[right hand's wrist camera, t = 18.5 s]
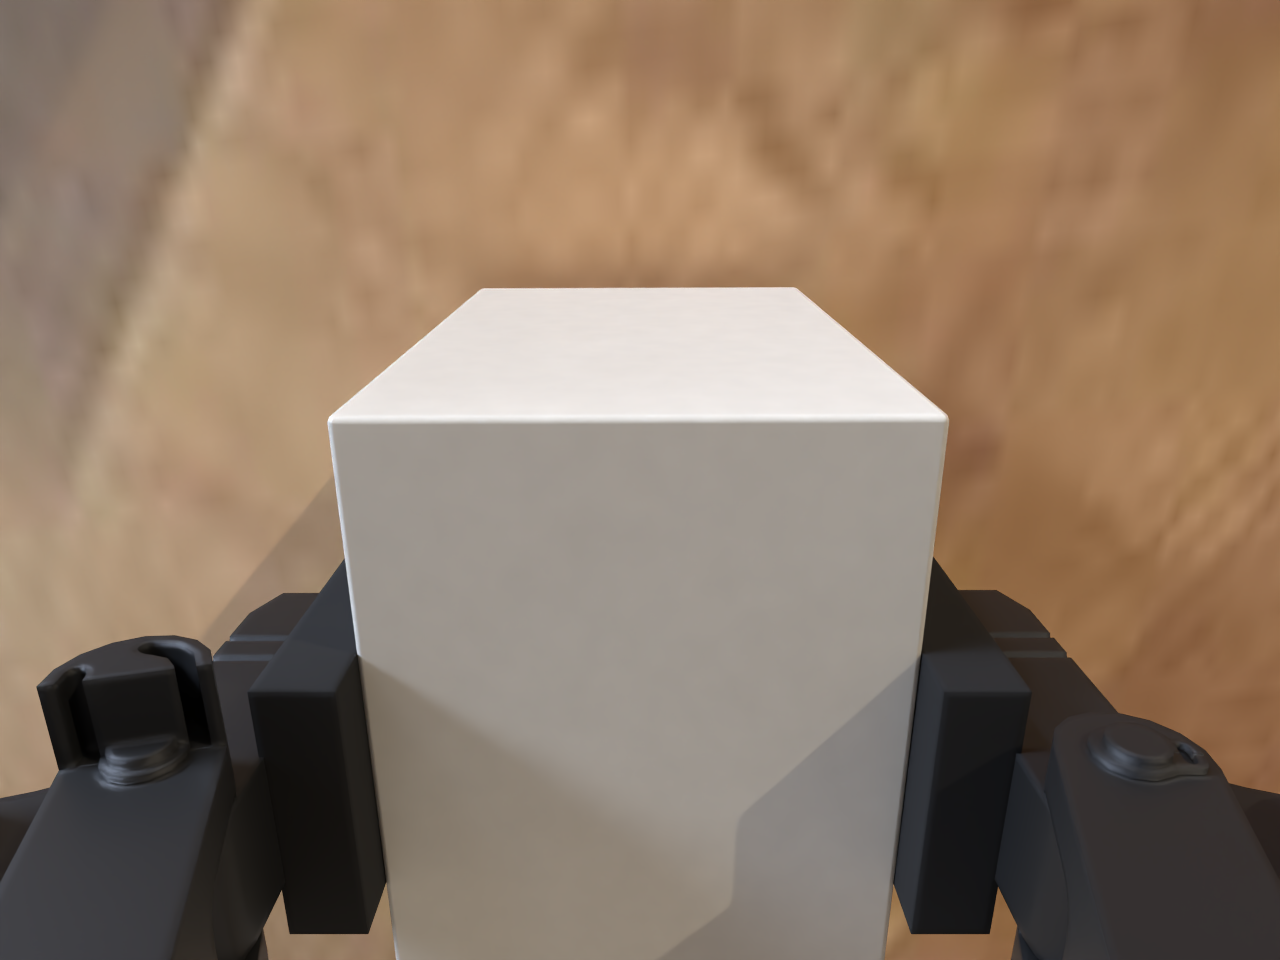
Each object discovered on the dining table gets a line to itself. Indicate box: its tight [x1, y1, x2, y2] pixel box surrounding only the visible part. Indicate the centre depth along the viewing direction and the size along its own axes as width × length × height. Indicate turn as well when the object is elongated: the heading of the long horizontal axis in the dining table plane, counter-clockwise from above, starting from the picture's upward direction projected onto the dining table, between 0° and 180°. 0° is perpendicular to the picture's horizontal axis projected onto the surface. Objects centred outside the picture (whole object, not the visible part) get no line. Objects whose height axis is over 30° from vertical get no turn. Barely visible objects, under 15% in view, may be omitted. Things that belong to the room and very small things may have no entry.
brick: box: [328, 287, 949, 960], centre depth 12 cm, size 7×5×8 cm
